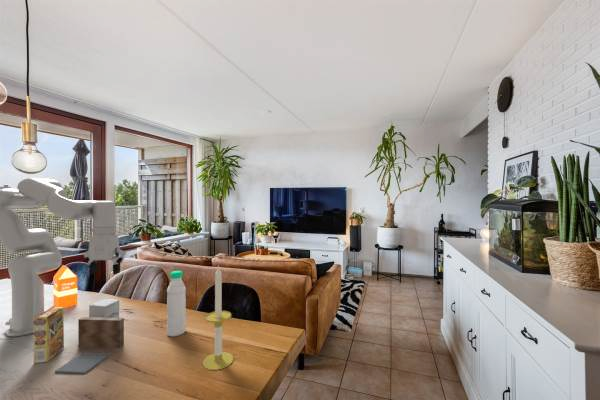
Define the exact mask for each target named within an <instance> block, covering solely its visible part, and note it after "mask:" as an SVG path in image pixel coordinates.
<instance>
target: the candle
mask: <svg viewBox="0 0 600 400" xmlns="http://www.w3.org/2000/svg"><path fill="white" fill-rule="evenodd" d="M222 273H223V272H222V271H221V269H220V266H219V264H218V265H217V268H216V271H215V273H214V277H215V278H214V280H215V281H214V282H215V283H214V296H215V298H214V311H211V312H209V313H207V314H206V315H205V316H204V320H205V321H206V322H208V323H214V353H212V354H209V355H207V356H206V357H205V358H204V359H203V361H202V367H203V366H204V367H203V368H204V369H205V368H206V369H205V370H208V371H214V370H216V371H220V370H219V369H222V370H224V369H226V368H228V367H229V366H231V365H232V364H233V362H234V356H233V355H232V354H231V353H230V352H225V351H223V322H225V321H227V320H230V318H231V317H232V313H231V312H230V311H227V310H222V309H223V308H222V305H223V304H222V303H223V302H222V301H223V300H222V297H223V296H222V295H223V294H222V293H223V292H222V290H223V289H222V286H223V285H222V284H223V283H222V281H223V280H222V276H223V275H222ZM231 363H232V364H231ZM230 364H231V365H230ZM227 366H228V367H227ZM225 367H226V368H225ZM223 368H224V369H223Z"/></svg>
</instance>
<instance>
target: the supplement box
mask: <svg viewBox="0 0 600 400" xmlns="http://www.w3.org/2000/svg"><path fill="white" fill-rule="evenodd" d="M88 307H89V308H88V314H89V315H88V317H102V318H120V300H119V299H111V298H110V299H109V298H104V299H102V300H99V301H96V302H95V303H91V304H89V306H88Z"/></svg>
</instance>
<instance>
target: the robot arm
mask: <svg viewBox="0 0 600 400" xmlns="http://www.w3.org/2000/svg"><path fill="white" fill-rule="evenodd" d="M43 205H44V206H46V207H47V209H48V211H49V212H50V213H51V214H53V215H55V216H57V217H59V218H63V219H66V220H69V221H77V220H92V227H93V228H91V230H90V231H91V232H92V235H90V238H89V245H88V250H87V251H85V252H83V257H84V258H85V259H84V260H85V261H87V264H88V265H89V275H94V274H96V273H98V271H99V269H98V268H99V267H98V262H97V261H112V263H113V264H112V275H117V274H119V273H120V272H121V263H122V262H123V261H124V260H125V258H126V255H127V252H126V251H124V250H122V249H120V241H119V236H118V233H117V231H116V230H117V228H116V226H117V223H116V220H117V219H116V217H117V216H116V215H117V211H116V206H117V205H116V202H114V201H112V200H73V199H68V192H67V191H66V189H65V188H63V186H62V184H61V183H60V182H59V181H57V180H55V179H50V178H39V177H30V178H25V179H22V180H21V181H20V182H18V184H17V188H0V242H1V245H2V247H3V249H4V250H5V251H6V252H7V253H9V254H21V253H22V254H21V255H18V256H16V257H14V258H12V259H11V260H10V261H9V262H8V265H7V271H8V274H9V278H10V284H11V318H9V320H8V321H6V322H5V323H4V325H5V326H9V328H8V329H7V330H6V333H5V335H6V336H7V337H12V338H13V337H14V338H15V337H22V336H27V335H32V334H34V317H37V316H38V315H40V314H42V313H43V312H45V284H44V281H43V280H42V279H41V277H40V276H39V275H41V274H44V273H49V272H52V271H54V270H56V269H58V268H60V266H62V261H63V259H62V255H61V252H60V250H59V247H58V245H57V243H56V242H55V239H54V237H53V236H52V234H51V232H49V231H48V230H47V229H45V228H31V229H30V228H29V227H27V226H26V224H25V222H24V220H23V219H22V217H21V216H20V215H18V214H17V213H15V212H14V211H13V210H15V209H16V210H18V209H19V210H21V209H33V208H38V207H41V206H43ZM32 251H34V252H32ZM27 252H28V253H27ZM29 252H30V253H29Z"/></svg>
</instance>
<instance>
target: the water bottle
mask: <svg viewBox="0 0 600 400" xmlns="http://www.w3.org/2000/svg"><path fill="white" fill-rule="evenodd" d="M183 274H184V273H183V270H174V271H171V272H170V273H169V279H170V282H169V285H168V287H167V288H166V294H167V296H166V314H167V317H166V324H167V325H166V326H167V327H166V334H167V336H169V337H178V336H181V335H183V334H185V332H186V330H187V325H186V324H187V323H186V318H187V317H186V311H187V310H186V309H187V307H186V306H187V300H186V298H187V297H186V291H187V287H186V286H185V284H184V281H183V280H182V278H183Z"/></svg>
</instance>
